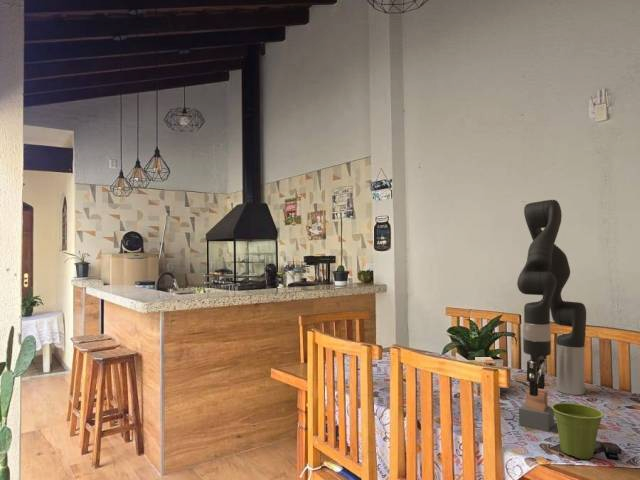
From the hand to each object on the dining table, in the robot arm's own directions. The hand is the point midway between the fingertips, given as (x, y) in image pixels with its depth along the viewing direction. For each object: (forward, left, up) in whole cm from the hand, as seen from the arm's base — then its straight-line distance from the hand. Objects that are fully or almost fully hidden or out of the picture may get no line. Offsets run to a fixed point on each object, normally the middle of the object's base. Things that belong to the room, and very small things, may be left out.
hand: (537, 391), depth 139 cm
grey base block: (0, 0, -10) cm, 10 cm away
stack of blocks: (-27, -26, -10) cm, 39 cm away
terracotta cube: (0, 0, -5) cm, 5 cm away
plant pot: (+15, +13, -10) cm, 22 cm away
